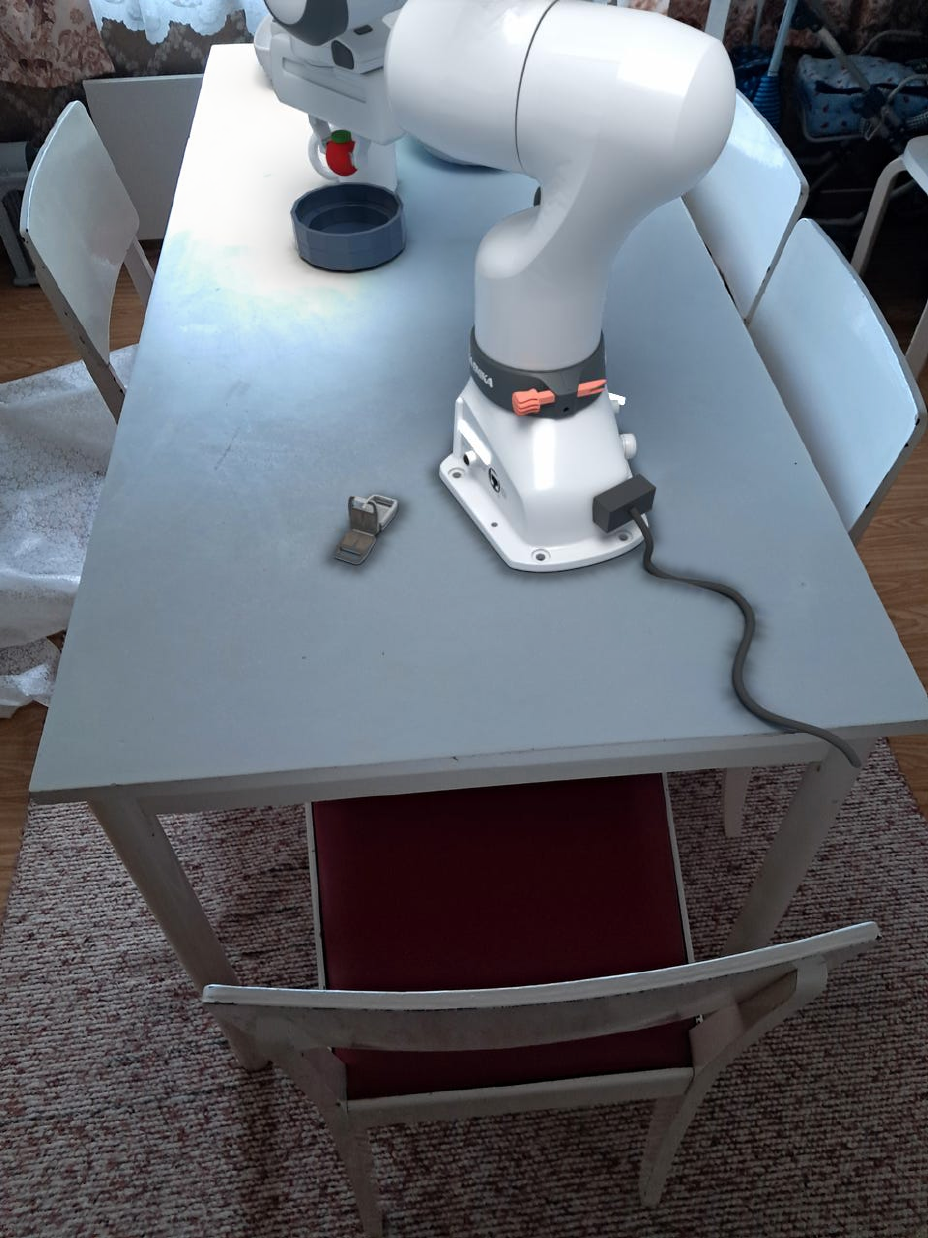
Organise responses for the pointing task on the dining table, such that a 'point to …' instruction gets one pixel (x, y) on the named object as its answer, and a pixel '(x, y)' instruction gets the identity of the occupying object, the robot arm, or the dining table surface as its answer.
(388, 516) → the strap clip
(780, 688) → the dining table surface
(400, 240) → the bowl
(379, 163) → the mug
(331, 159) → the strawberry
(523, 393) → the robot arm
